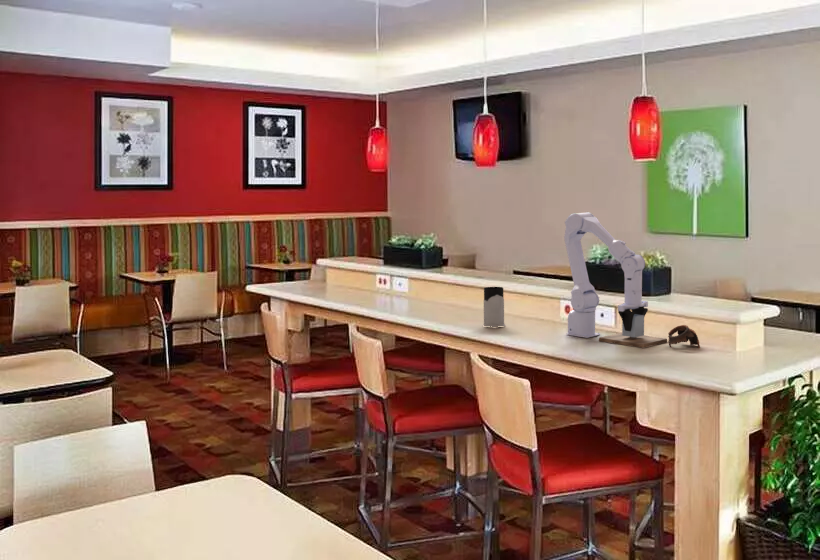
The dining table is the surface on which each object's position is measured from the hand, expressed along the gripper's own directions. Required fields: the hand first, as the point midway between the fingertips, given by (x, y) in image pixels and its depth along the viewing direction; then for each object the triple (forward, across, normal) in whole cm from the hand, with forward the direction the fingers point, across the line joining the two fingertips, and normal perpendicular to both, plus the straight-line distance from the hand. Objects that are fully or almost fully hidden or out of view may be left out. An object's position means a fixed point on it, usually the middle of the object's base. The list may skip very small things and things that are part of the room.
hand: (632, 329), depth 297 cm
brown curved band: (+4, +5, -17) cm, 18 cm away
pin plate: (+4, 0, 0) cm, 4 cm away
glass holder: (+4, -9, +59) cm, 60 cm away
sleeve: (+2, 0, 0) cm, 2 cm away
